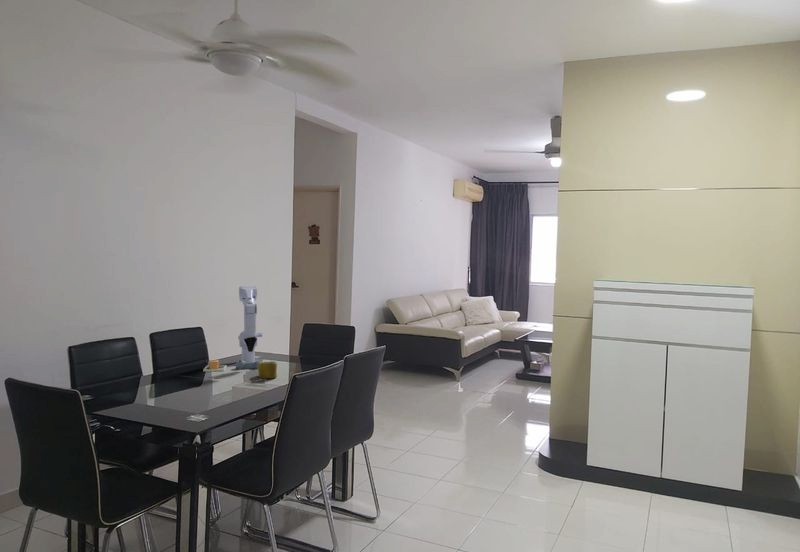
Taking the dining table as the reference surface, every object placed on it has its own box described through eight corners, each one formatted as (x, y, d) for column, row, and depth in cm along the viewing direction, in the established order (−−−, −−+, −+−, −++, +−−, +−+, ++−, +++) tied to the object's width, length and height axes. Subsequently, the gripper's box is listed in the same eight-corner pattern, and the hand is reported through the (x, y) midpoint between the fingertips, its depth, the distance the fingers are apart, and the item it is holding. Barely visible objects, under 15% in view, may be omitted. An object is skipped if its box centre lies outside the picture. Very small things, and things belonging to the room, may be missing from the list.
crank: (235, 369, 319) (235, 361, 319) (235, 367, 324) (235, 359, 324) (259, 368, 323) (259, 360, 322) (258, 366, 327) (258, 358, 327)
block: (218, 369, 322) (218, 360, 321) (217, 371, 318) (217, 361, 318) (210, 369, 321) (210, 360, 321) (209, 371, 317) (209, 361, 317)
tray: (206, 369, 324) (206, 365, 324) (226, 368, 326) (226, 365, 325) (203, 373, 314) (203, 369, 313) (223, 372, 315) (224, 369, 315)
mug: (277, 376, 299) (272, 357, 301) (258, 382, 300) (253, 363, 301) (284, 376, 311) (279, 357, 313) (265, 381, 312) (260, 363, 313)
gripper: (244, 328, 313) (244, 354, 314) (266, 325, 324) (265, 350, 325) (235, 327, 317) (235, 352, 318) (257, 324, 329) (257, 349, 329)
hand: (250, 351), depth 322 cm, fingers closed
